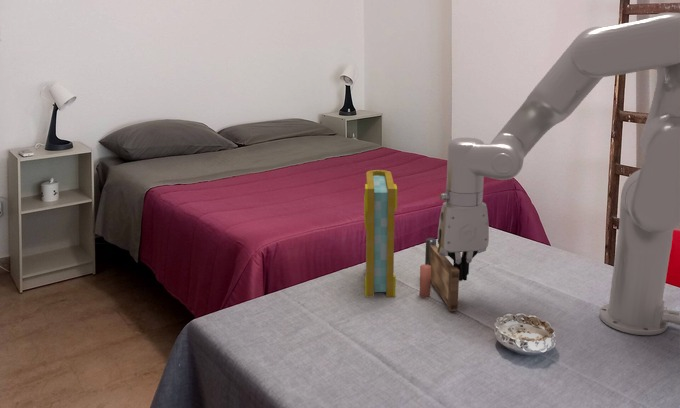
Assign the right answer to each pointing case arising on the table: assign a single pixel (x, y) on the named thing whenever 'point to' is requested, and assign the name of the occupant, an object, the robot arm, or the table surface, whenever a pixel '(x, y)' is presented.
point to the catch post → (425, 281)
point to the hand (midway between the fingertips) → (460, 278)
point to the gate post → (428, 253)
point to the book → (379, 232)
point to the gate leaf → (444, 278)
